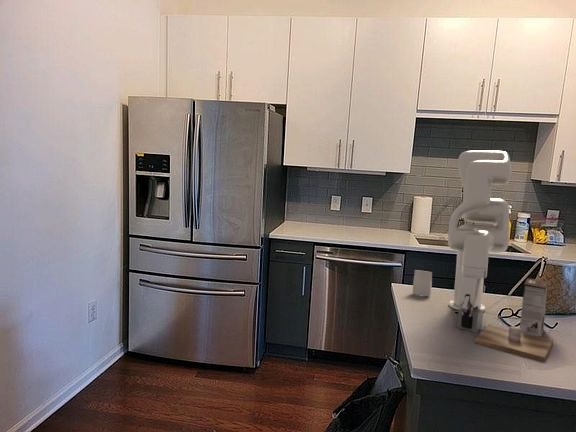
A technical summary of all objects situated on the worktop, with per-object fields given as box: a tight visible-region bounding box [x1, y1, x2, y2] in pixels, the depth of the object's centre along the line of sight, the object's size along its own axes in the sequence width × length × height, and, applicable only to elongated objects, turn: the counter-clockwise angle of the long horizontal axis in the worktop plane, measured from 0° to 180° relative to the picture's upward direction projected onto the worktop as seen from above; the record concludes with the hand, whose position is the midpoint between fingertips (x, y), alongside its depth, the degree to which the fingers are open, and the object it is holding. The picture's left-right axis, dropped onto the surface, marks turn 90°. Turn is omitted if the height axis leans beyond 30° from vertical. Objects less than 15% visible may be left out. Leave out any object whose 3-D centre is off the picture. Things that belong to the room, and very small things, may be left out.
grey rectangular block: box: [411, 269, 433, 298], centre depth 175 cm, size 4×7×10 cm, turn 63°
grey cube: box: [456, 308, 484, 333], centre depth 139 cm, size 6×6×6 cm
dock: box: [474, 324, 554, 362], centre depth 128 cm, size 16×18×5 cm
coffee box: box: [519, 278, 549, 337], centre depth 138 cm, size 9×6×16 cm
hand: (469, 324), depth 140 cm, fingers closed on grey cube, 6 cm apart
